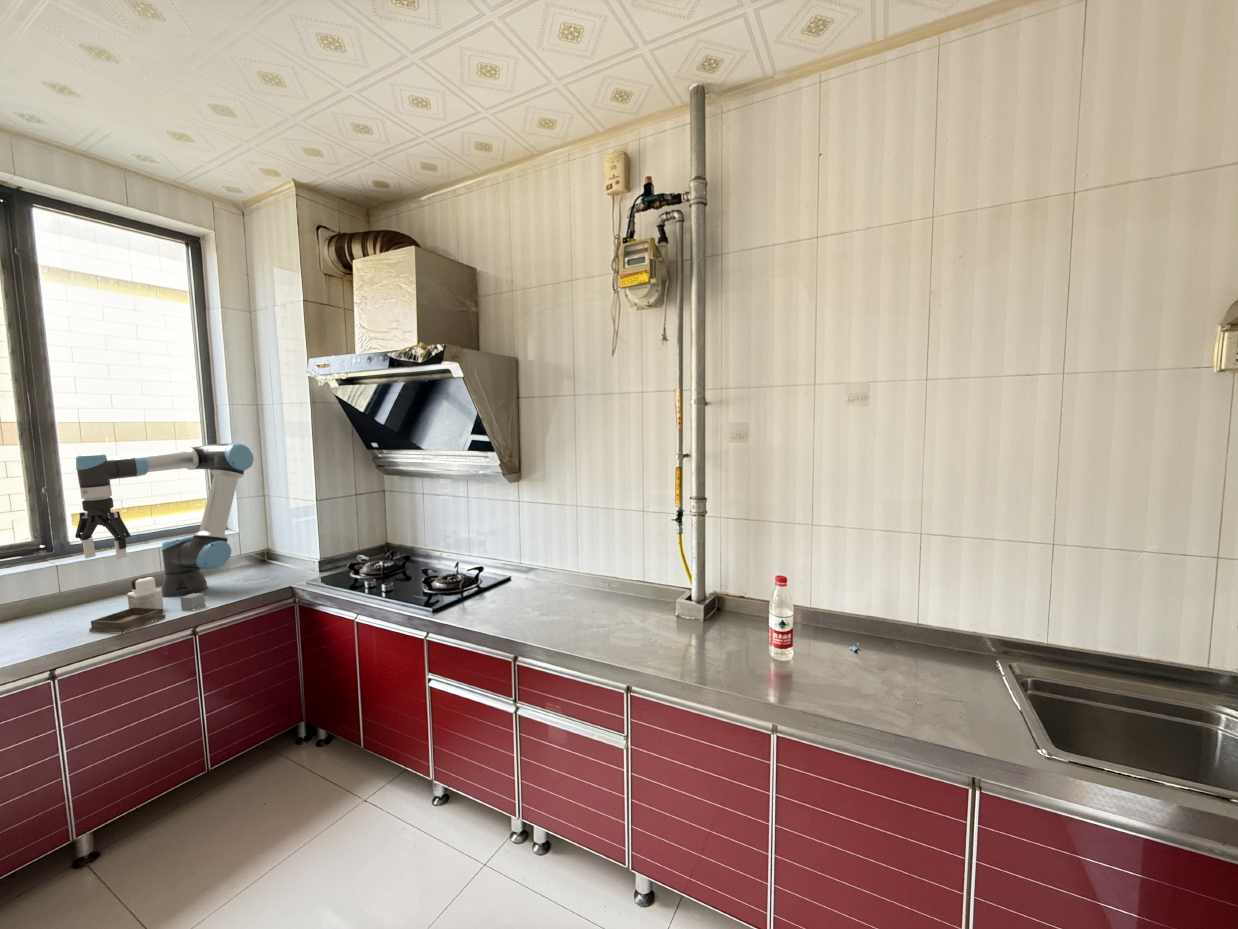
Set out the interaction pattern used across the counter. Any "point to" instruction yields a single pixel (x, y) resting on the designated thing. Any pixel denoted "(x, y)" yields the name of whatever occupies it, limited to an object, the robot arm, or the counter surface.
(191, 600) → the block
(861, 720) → the counter surface
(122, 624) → the tray
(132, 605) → the container
